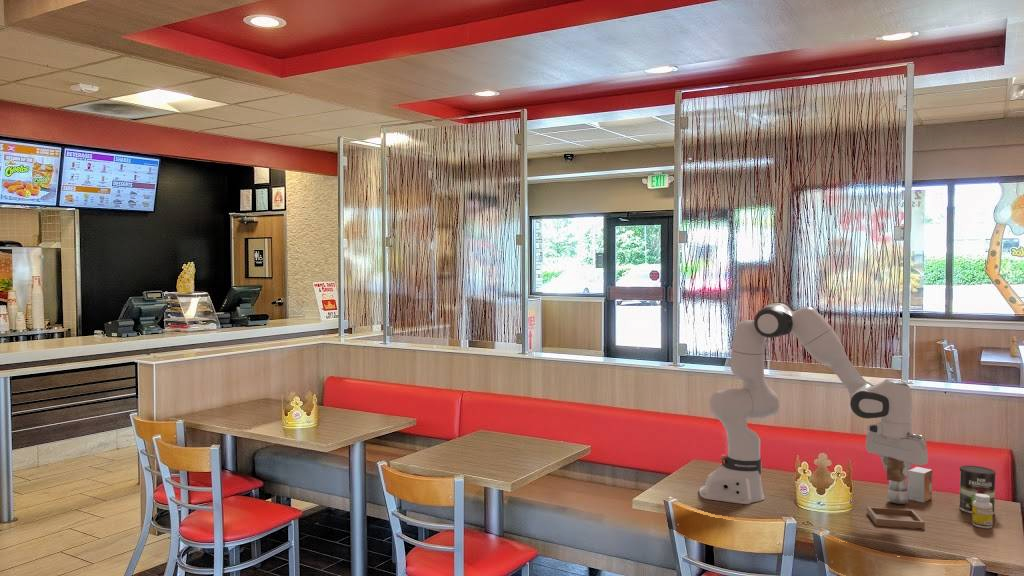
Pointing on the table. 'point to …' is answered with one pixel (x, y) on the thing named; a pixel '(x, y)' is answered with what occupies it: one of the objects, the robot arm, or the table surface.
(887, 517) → the tray
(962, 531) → the table surface
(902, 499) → the plastic bottle
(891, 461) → the block
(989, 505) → the supplement bottle
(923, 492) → the small box
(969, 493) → the coffee can
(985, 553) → the table surface
